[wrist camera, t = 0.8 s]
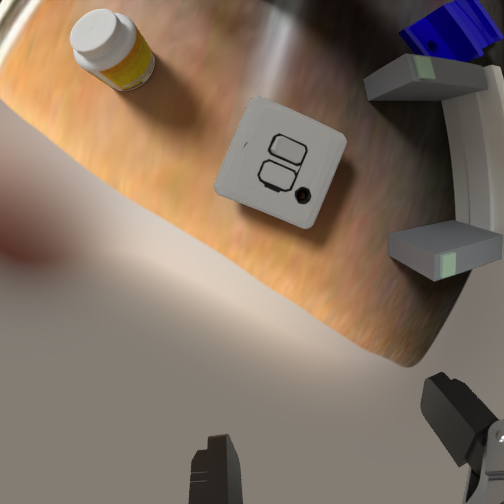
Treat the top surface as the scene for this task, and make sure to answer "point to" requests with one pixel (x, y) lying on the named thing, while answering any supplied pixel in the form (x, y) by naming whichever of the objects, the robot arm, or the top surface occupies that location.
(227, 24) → the top surface
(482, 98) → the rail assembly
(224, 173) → the electrical switch
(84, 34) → the supplement bottle
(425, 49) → the mounting bracket
